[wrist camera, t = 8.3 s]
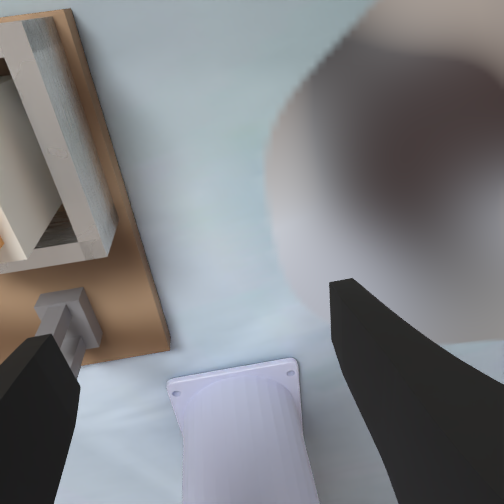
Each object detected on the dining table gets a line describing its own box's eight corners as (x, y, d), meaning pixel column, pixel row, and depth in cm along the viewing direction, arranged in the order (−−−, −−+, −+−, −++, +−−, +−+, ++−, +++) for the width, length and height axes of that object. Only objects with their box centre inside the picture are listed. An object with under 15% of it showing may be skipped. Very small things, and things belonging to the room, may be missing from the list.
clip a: (103, 333, 21) (88, 388, 18) (63, 339, 21) (42, 396, 18) (83, 286, 19) (63, 339, 16) (40, 293, 19) (13, 347, 16)
